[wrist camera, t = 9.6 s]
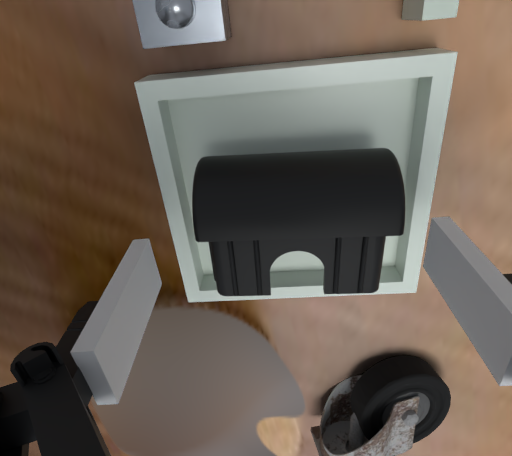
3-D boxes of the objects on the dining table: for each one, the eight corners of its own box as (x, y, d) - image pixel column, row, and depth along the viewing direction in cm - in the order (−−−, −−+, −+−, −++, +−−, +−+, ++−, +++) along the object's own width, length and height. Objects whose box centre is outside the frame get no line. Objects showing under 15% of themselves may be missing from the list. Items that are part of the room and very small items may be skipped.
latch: (160, 44, 20) (137, 50, 17) (146, -22, 18) (119, -29, 15) (231, 36, 20) (223, 41, 16) (224, -31, 18) (213, -40, 15)
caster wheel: (425, 333, 34) (413, 411, 38) (309, 352, 32) (309, 431, 36) (477, 387, 28) (457, 474, 32) (337, 413, 26) (333, 502, 30)
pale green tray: (194, 279, 28) (187, 306, 26) (127, -19, 19) (104, -25, 16) (404, 269, 27) (418, 296, 25) (451, -58, 17) (483, -70, 15)
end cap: (376, 129, 21) (416, 174, 15) (365, 233, 25) (394, 301, 19) (207, 138, 22) (183, 184, 16) (220, 238, 25) (205, 304, 20)
